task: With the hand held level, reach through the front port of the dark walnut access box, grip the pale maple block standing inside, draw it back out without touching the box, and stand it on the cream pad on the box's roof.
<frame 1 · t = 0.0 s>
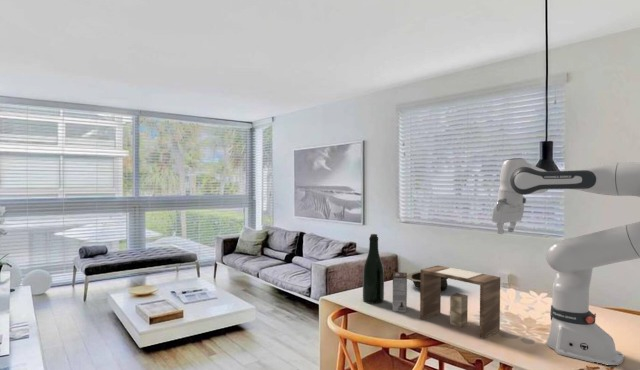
hand: (505, 232, 159), 39 cm above the table, tool pointing down, fingers open, 8 cm apart
green wine bottle: (373, 301, 195), on the table
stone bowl: (428, 288, 220), on the table
coffee box: (399, 309, 183), on the table
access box: (458, 324, 164), on the table
maple block: (458, 324, 164), on the table
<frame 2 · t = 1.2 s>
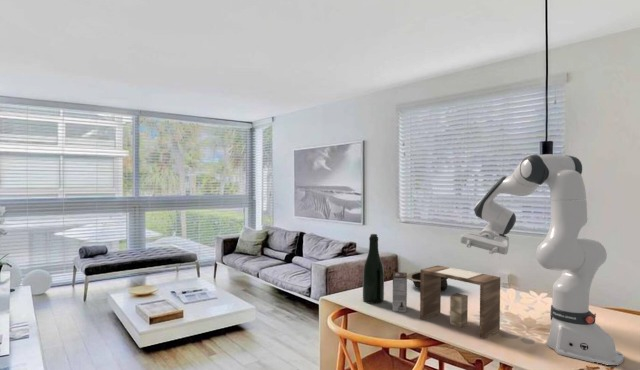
hand: (479, 249, 172), 30 cm above the table, tool horizontal, fingers open, 8 cm apart
nothing on the table moved.
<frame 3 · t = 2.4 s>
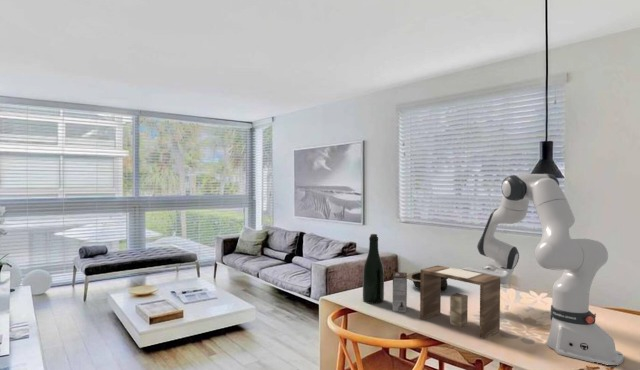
hand: (477, 277, 175), 17 cm above the table, tool horizontal, fingers open, 8 cm apart
nothing on the table moved.
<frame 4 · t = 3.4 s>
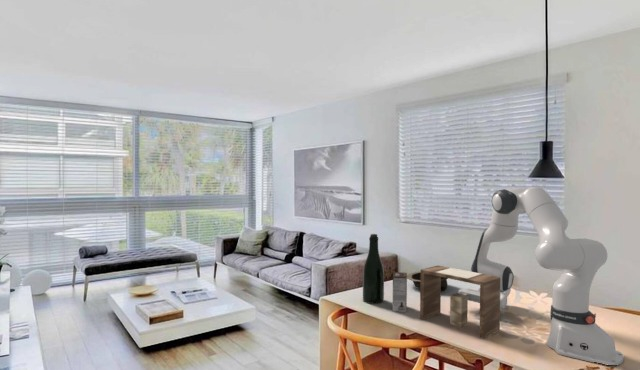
hand: (473, 301, 172), 7 cm above the table, tool horizontal, fingers open, 8 cm apart
nothing on the table moved.
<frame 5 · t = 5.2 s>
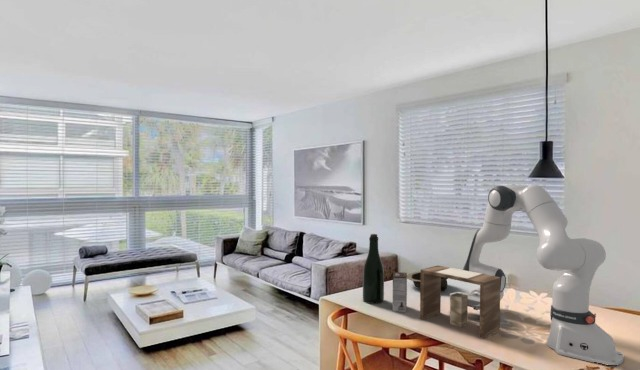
hand: (464, 305, 167), 7 cm above the table, tool horizontal, fingers open, 8 cm apart
nothing on the table moved.
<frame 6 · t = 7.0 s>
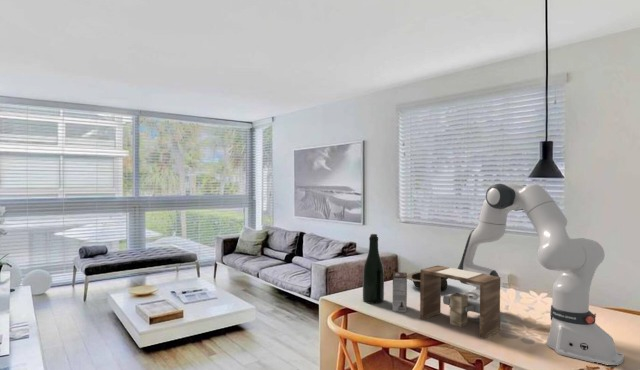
hand: (457, 307, 164), 7 cm above the table, tool horizontal, fingers closed on maple block, 5 cm apart
maple block: (458, 324, 164), on the table, touching gripper
everything else where it was.
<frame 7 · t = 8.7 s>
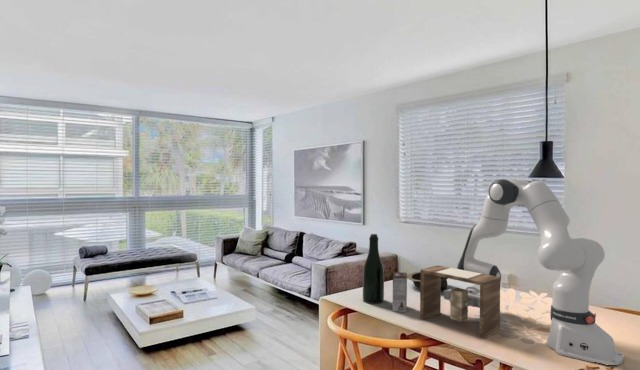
hand: (458, 302, 164), 9 cm above the table, tool horizontal, fingers closed on maple block, 5 cm apart
maple block: (458, 318, 164), point 2 cm above the table, touching gripper
everything else where it was.
when the fingers open (29 cm above the table, at t = 18.6 s): maple block drops 1 cm, resting on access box.
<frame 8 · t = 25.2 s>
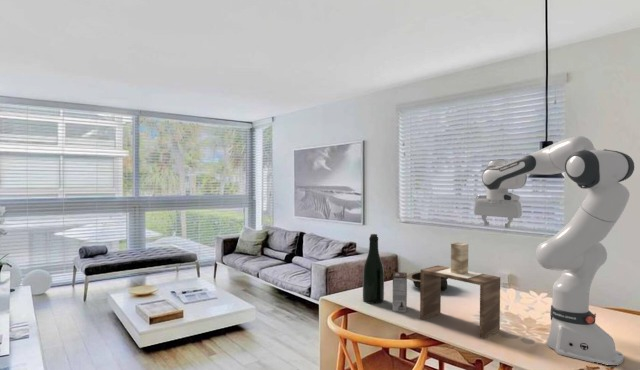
hand: (496, 226, 177), 39 cm above the table, tool pointing down, fingers open, 8 cm apart
maple block: (459, 272, 164), point 21 cm above the table, touching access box
everything else where it was.
at the end: maple block inside the target area on the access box (0.5 cm from its centre), point 21.4 cm above the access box's base; maple block tilted 0°; the gripper is holding nothing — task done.
